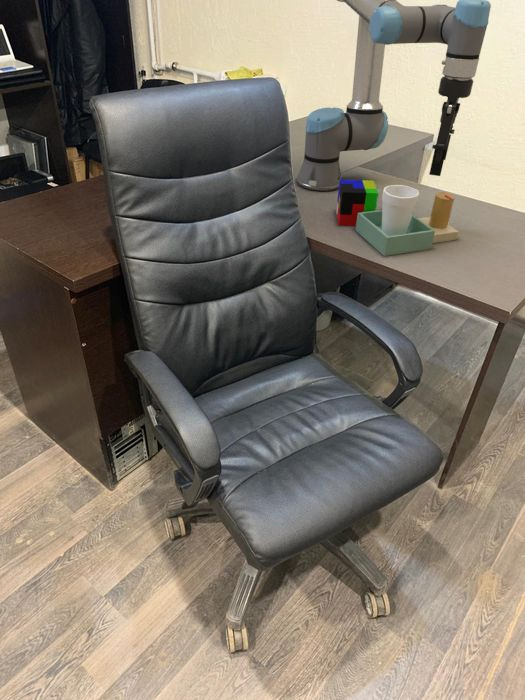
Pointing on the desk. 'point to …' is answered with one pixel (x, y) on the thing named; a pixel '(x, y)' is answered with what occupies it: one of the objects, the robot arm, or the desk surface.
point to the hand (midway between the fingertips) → (437, 166)
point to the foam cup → (398, 208)
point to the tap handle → (441, 210)
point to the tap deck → (442, 232)
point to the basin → (413, 240)
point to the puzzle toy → (355, 200)
